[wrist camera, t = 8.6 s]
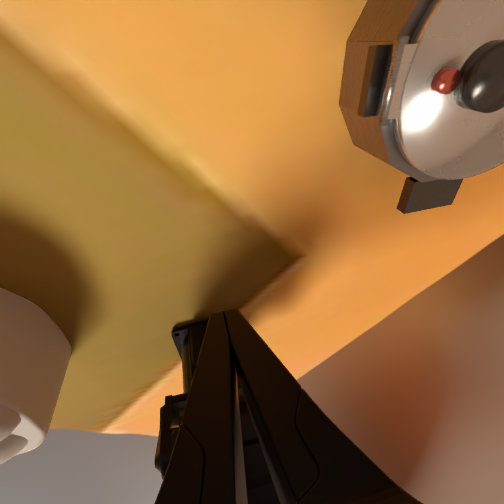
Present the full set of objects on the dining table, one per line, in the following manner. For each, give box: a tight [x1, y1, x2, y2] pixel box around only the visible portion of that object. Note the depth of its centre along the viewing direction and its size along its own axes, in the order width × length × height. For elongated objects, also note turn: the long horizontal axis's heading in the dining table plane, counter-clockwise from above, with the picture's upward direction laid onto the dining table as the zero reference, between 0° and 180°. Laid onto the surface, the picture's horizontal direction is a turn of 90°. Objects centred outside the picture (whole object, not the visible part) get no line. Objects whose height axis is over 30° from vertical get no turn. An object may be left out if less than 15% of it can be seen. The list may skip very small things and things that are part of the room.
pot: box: [339, 0, 463, 214], centre depth 16 cm, size 17×13×4 cm
